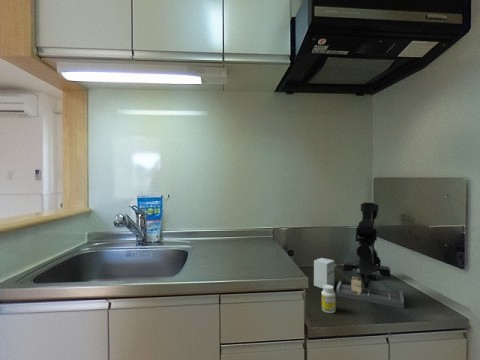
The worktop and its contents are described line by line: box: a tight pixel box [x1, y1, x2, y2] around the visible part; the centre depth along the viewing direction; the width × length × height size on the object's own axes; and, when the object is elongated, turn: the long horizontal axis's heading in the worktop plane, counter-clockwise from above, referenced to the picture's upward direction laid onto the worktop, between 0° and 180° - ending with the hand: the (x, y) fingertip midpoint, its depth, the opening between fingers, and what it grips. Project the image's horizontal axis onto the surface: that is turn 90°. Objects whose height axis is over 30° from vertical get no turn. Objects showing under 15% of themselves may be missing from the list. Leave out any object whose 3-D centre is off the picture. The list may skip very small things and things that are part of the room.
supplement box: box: [313, 257, 335, 289], centre depth 131 cm, size 7×7×13 cm
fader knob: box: [350, 276, 363, 293], centre depth 120 cm, size 5×4×5 cm
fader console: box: [335, 280, 405, 309], centre depth 118 cm, size 10×26×4 cm, turn 62°
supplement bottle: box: [321, 285, 336, 314], centre depth 107 cm, size 5×5×10 cm
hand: (366, 287), depth 119 cm, fingers closed
